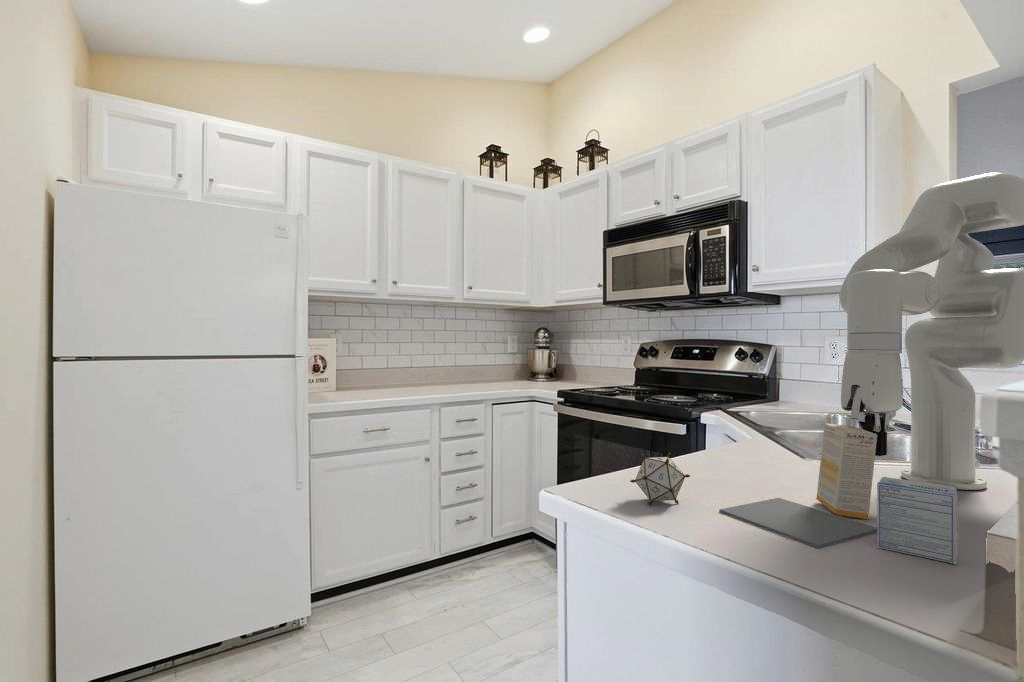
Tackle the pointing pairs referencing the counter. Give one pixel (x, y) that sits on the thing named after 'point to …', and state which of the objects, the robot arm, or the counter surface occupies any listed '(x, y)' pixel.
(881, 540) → the medicine box
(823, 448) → the supplement box
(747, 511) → the mat
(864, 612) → the counter surface
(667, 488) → the game die
